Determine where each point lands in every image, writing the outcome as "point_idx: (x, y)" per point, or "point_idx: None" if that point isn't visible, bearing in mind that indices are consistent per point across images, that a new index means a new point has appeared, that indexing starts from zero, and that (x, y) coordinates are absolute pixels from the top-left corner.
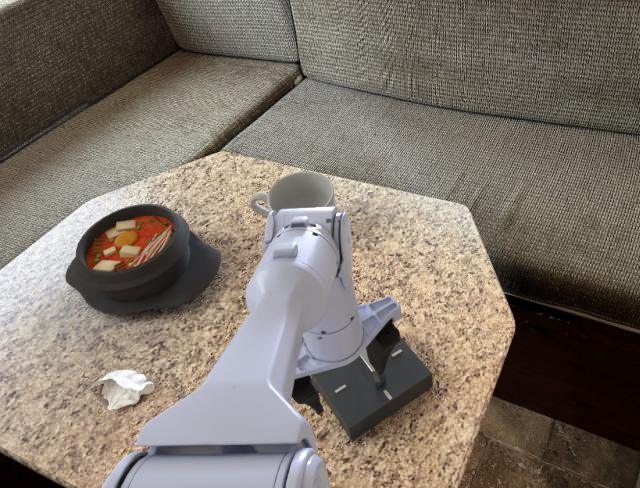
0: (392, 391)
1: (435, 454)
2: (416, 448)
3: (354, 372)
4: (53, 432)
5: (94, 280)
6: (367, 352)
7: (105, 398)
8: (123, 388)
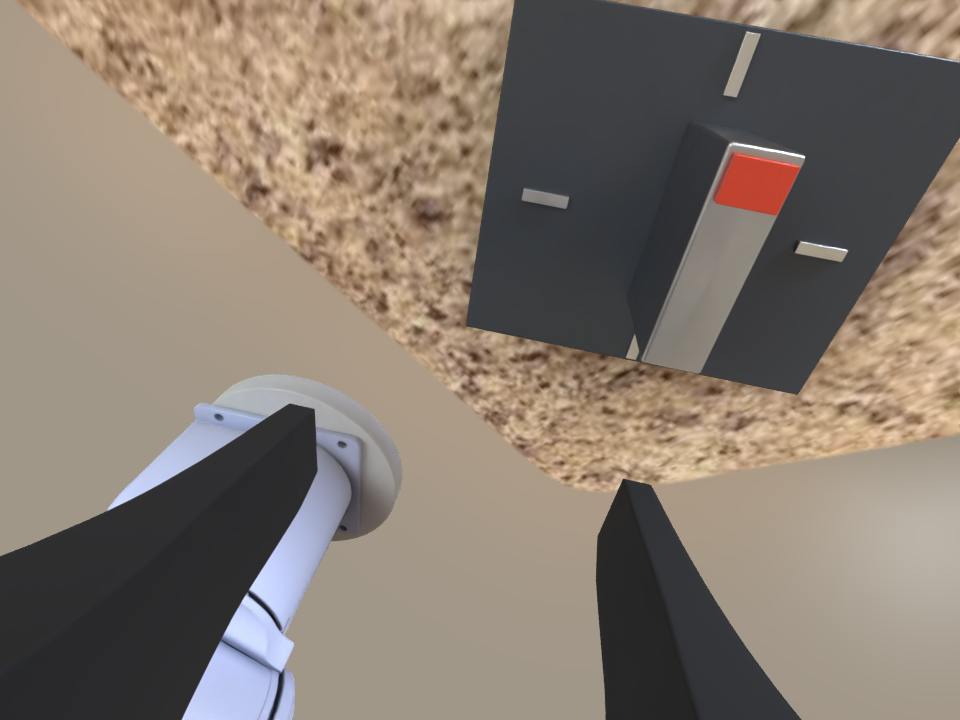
0: None
1: (597, 452)
2: (580, 416)
3: (637, 181)
4: None
5: None
6: (638, 537)
7: None
8: None
